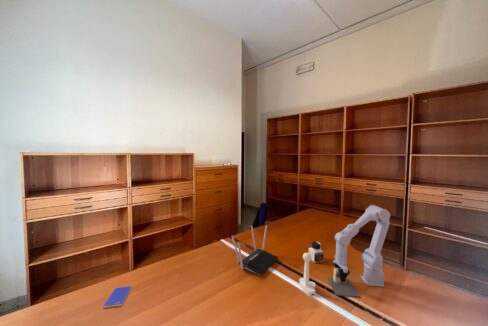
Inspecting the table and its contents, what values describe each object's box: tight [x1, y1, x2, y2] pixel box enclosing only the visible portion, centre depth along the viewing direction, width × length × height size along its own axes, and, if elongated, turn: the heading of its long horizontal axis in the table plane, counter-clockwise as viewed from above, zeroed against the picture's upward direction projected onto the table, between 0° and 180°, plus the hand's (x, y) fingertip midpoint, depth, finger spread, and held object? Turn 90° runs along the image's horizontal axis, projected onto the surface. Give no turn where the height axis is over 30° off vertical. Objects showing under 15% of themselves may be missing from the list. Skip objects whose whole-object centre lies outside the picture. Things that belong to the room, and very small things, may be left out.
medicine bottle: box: [308, 241, 325, 264], centre depth 137 cm, size 7×7×12 cm
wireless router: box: [231, 225, 279, 276], centre depth 133 cm, size 34×23×20 cm
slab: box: [332, 267, 346, 284], centre depth 114 cm, size 6×3×7 cm, turn 84°
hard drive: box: [102, 285, 132, 309], centre depth 101 cm, size 2×8×12 cm
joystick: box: [298, 252, 316, 297], centre depth 109 cm, size 11×8×20 cm
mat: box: [327, 277, 361, 298], centre depth 110 cm, size 12×14×1 cm
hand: (340, 277), depth 114 cm, fingers open, 7 cm apart
